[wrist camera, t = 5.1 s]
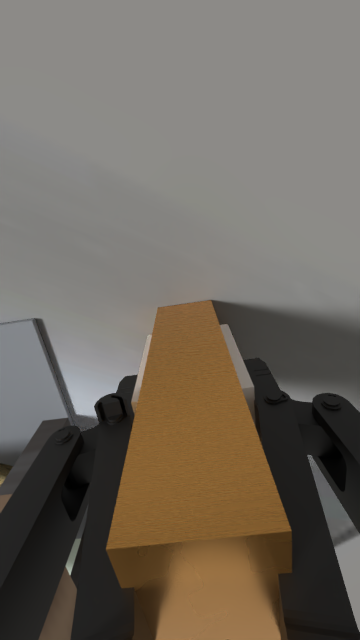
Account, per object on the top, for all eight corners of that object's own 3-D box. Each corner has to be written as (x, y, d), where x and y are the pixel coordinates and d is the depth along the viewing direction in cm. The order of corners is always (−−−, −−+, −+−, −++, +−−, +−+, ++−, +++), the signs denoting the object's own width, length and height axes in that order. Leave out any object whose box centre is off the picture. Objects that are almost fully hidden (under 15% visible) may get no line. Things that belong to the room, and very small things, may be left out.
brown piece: (139, 310, 18) (42, 555, 5) (230, 297, 18) (361, 524, 5) (191, 549, 28) (202, 850, 15) (252, 543, 27) (317, 846, 14)
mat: (-187, 350, 19) (-194, 353, 19) (34, 318, 19) (31, 320, 18) (7, 621, 33) (5, 626, 32) (142, 609, 32) (141, 614, 31)
